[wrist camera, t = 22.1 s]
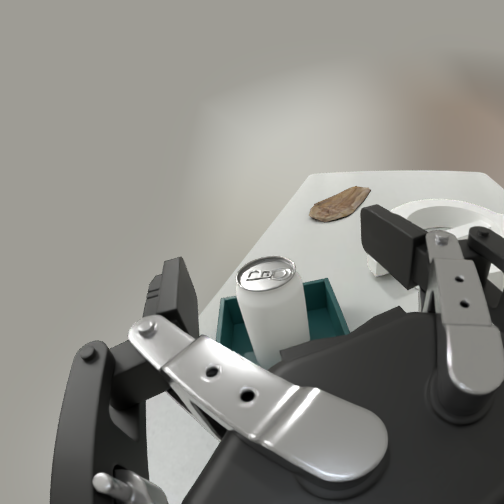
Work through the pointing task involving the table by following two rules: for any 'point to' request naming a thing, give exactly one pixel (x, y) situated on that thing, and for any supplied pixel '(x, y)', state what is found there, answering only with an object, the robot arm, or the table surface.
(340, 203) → the fish fossil
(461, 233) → the ring with crossbar
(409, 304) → the table surface
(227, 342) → the teal open storage bin
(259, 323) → the can
